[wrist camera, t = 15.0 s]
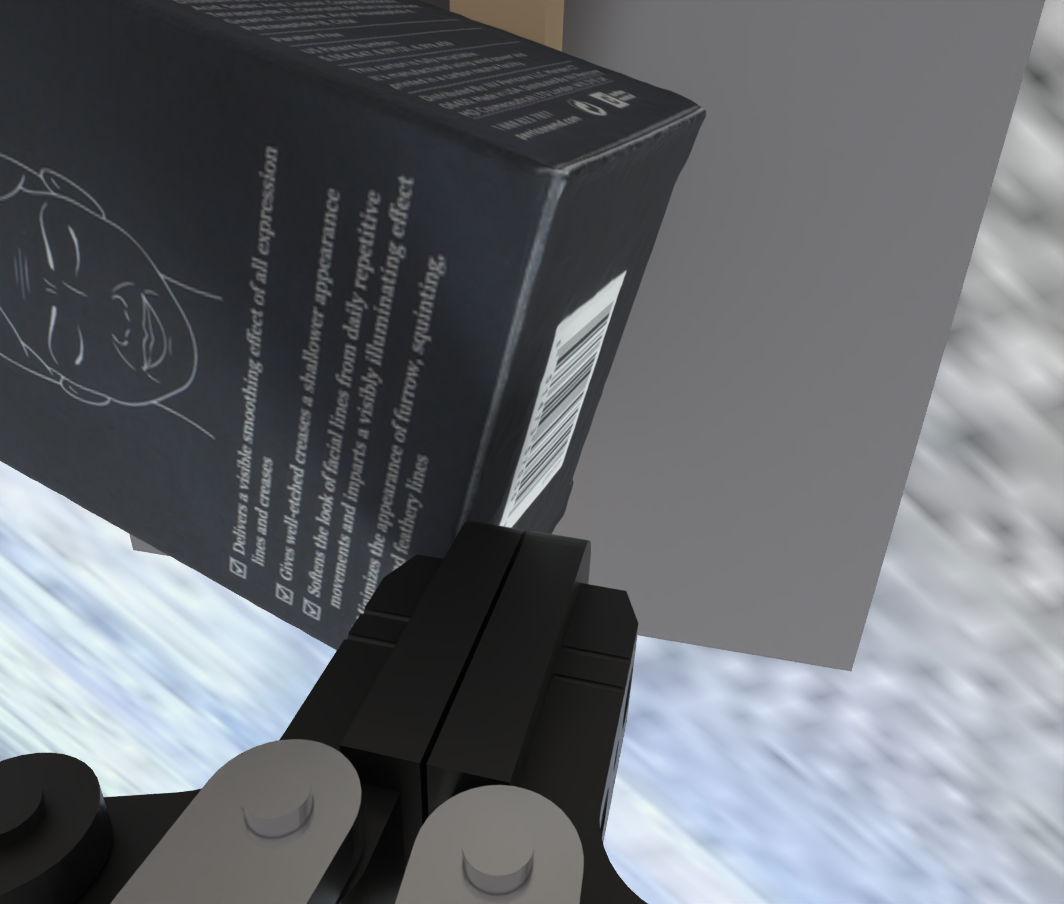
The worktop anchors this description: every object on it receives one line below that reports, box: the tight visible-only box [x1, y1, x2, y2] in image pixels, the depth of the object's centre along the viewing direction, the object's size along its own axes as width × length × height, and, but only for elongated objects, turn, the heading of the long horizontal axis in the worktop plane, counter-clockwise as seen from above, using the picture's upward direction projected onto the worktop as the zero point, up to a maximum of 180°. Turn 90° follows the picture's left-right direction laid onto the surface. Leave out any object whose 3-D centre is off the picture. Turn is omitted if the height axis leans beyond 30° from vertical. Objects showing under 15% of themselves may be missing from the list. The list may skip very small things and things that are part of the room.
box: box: [0, 0, 706, 650], centre depth 13 cm, size 8×6×11 cm
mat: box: [130, 0, 1045, 671], centre depth 17 cm, size 18×16×2 cm
